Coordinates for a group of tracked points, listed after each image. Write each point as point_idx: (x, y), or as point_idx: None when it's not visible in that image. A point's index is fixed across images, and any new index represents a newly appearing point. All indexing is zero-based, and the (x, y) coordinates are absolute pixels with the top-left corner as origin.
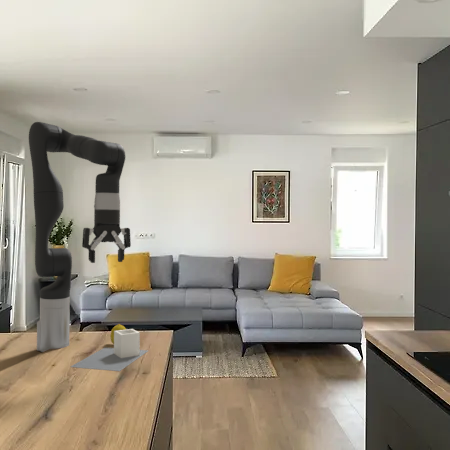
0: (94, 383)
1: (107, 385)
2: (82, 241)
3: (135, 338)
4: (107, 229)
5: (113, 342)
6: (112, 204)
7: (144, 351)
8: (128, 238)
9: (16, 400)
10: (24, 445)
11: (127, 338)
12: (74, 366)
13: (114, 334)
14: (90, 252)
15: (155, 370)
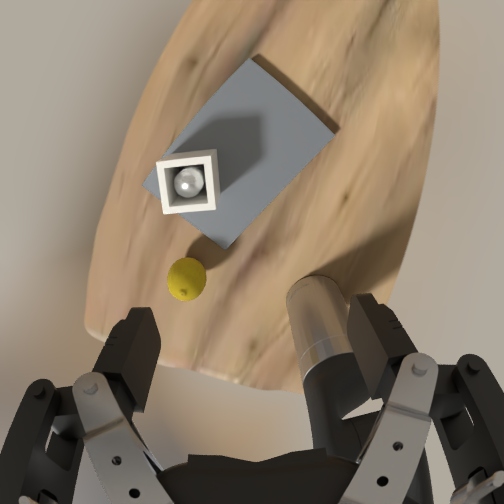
0: (306, 46)
1: (286, 25)
2: (467, 432)
3: (171, 158)
4: None
5: (202, 265)
6: None
7: (152, 181)
8: (17, 446)
9: (427, 50)
10: None
11: (193, 156)
12: (326, 132)
13: (216, 204)
14: (410, 347)
15: (166, 71)
